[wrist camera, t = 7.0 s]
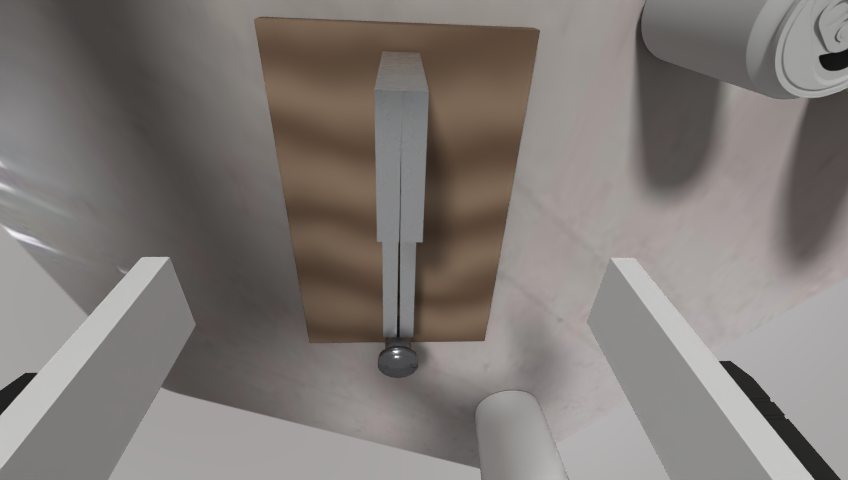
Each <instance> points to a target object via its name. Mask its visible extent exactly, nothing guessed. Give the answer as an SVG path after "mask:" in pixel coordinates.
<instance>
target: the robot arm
mask: <svg viewBox="0 0 848 480" xmlns="http://www.w3.org/2000/svg"><path fill="white" fill-rule="evenodd" d="M587 323H588V325H589V327H590V329H591V331H592V332H593V334H594V336H595V338H596V340H597V342H598V344H599V346H600V348H601V349H602V351H603V353H604V355H605V357H606V359H607V361H608V363H609V364H610V366H611V368H612V370H613V372H614V374H615V376H616V378H617V380H618V381H619V383H620V385H621V387H622V389H623V391H624V393H625V395H626V396H627V398H628V400H629V402H630V404H631V406H632V408H633V410H634V411H635V413H636V415H637V417H638V419H639V421H640V423H641V425H642V427H643V428H644V430H645V432H646V434H647V436H648V438H649V440H650V442H651V443H652V445H653V447H654V449H655V451H656V453H657V455H658V456H659V459H660V460H661V462H662V464H663V466H664V468H665V470H666V472H667V474H668V476H669V477H670V479H671V480H840V478H839V477H838V476H837V475H836V474H835V473H834V471H833V470H832V469H831V468H830V467H829V466H828V464H827V463H826V462H825V461H824V460H823V459H822V457H821V456H820V455H819V454H818V453H817V452H816V451H815V449H814V448H813V447H812V446H811V445H810V444H809V442H808V441H807V440H806V439H805V438H804V437H803V436H802V434H801V433H800V432H799V431H798V430H797V428H796V427H795V426H794V425H793V424H792V423H791V422H790V420H789V419H786V418H785V417H784V413H782V411H781V410H780V409H779V408H778V407H777V406H776V404H775V403H774V402H771V401H770V397H769V396H768V395H767V394H766V393H765V391H764V390H763V389H762V388H761V387H760V386H759V384H757V382H756V381H755V380H754V379H753V378H752V377H751V376H750V375H748V374H747V373H745V372H744V371H743V370H742V369H740V368H739V367H738V366H736V365H735V364H733V363H732V362H731V361H718V360H717V359H716V358H715V357H714V355H713V354H712V353H711V352H710V350H709V349H708V348H707V347H706V345H705V344H704V343H703V342H702V341H701V339H700V338H699V337H698V336H697V334H696V333H695V332H694V331H693V329H692V328H691V327H690V326H689V325H688V323H687V322H686V321H685V320H684V318H683V317H682V316H681V315H680V313H679V312H678V311H677V310H676V309H675V307H674V306H673V305H672V304H671V302H670V301H669V300H668V299H667V297H666V296H665V295H664V294H663V293H662V291H661V290H660V289H659V288H658V286H657V285H656V284H655V283H654V281H653V280H652V279H651V278H650V277H649V275H648V274H647V273H646V272H645V270H644V269H643V268H642V267H641V265H640V264H639V263H638V262H637V261H636V259H635V258H610V261H609V264H608V266H607V269H606V272H605V274H604V277H603V280H602V283H601V285H600V288H599V291H598V293H597V296H596V299H595V301H594V304H593V307H592V309H591V312H590V315H589V318H588V320H587ZM195 326H196V324H195V322H194V319H193V316H192V314H191V311H190V309H189V306H188V303H187V301H186V298H185V296H184V293H183V291H182V288H181V285H180V283H179V280H178V278H177V275H176V273H175V270H174V267H173V265H172V262H171V260H170V257H141V259H140V260H139V261H138V262H137V263H136V264H135V265H134V266H133V268H132V269H131V270H130V271H129V272H128V273H127V274H126V275H125V276H124V278H123V279H122V280H121V281H120V282H119V283H118V284H117V285H116V287H115V288H114V289H113V290H112V291H111V292H110V293H109V294H108V296H107V297H106V298H105V299H104V300H103V301H102V302H101V303H100V304H99V306H98V307H97V308H96V309H95V310H94V311H93V312H92V313H91V315H90V316H89V317H88V318H87V319H86V320H85V321H84V322H83V324H82V325H81V326H80V327H79V328H78V329H77V330H76V332H74V334H73V335H72V336H71V337H70V338H69V339H68V340H67V341H66V343H65V344H64V345H63V346H62V347H61V348H60V349H59V350H58V352H57V353H56V354H55V355H54V356H53V357H52V358H51V359H50V360H49V362H48V363H47V364H46V365H45V366H44V367H43V368H42V369H41V371H40V372H39V373H25V374H23V375H22V376H20V377H19V378H18V379H16V380H15V381H13V382H12V383H11V384H9V385H8V386H6V387H5V388H3V389H2V390H1V391H0V480H108V479H109V477H110V475H111V473H112V471H113V470H114V468H115V466H116V465H117V463H118V461H119V459H120V458H121V456H122V454H123V452H124V451H125V449H126V447H127V445H128V443H129V442H130V440H131V438H132V437H133V435H134V433H135V431H136V429H137V428H138V426H139V424H140V422H141V421H142V419H143V417H144V415H145V414H146V412H147V410H148V408H149V407H150V405H151V403H152V401H153V400H154V398H155V396H156V394H157V392H158V390H159V389H160V387H161V386H162V384H163V382H164V380H165V379H166V377H167V375H168V373H169V372H170V370H171V368H172V366H173V365H174V363H175V361H176V359H177V358H178V356H179V354H180V352H181V351H182V349H183V347H184V345H185V344H186V342H187V340H188V338H189V337H190V335H191V333H192V331H193V330H194V328H195Z"/></svg>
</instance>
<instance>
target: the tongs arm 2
mask: <svg viewBox="0 0 848 480" xmlns="http://www.w3.org/2000/svg"><path fill="white" fill-rule="evenodd" d="M401 75H402V99H401V167H400V337H413V327H414V295H415V263H416V242H423V220H424V197H425V173H426V149H427V125H428V102H429V90H428V86H427V81H426V77H425V73H424V69H423V65H422V60H421V56H420V53H415V52H401Z"/></svg>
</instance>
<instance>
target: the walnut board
mask: <svg viewBox="0 0 848 480" xmlns="http://www.w3.org/2000/svg"><path fill="white" fill-rule="evenodd" d="M254 22H255V28H256V34H257V40H258V46H259V52H260V57H261V63H262V69H263V75H264V81H265V87H266V92H267V98H268V104H269V110H270V116H271V122H272V127H273V133H274V139H275V145H276V151H277V157H278V162H279V168H280V174H281V180H282V186H283V192H284V197H285V203H286V209H287V215H288V221H289V226H290V232H291V238H292V244H293V250H294V256H295V261H296V267H297V273H298V279H299V285H300V291H301V296H302V302H303V308H304V314H305V320H306V326H307V331H308V337H309V343H353V342H386V337H383V255H382V242H377V209H376V155H375V101H374V89H375V84H376V79H377V75H378V70H379V65H380V61H381V56H382V51H389V52H415V53H420V56H421V60H422V65H423V69H424V73H425V77H426V81H427V86H428V90H429V102H428V125H427V149H426V173H425V197H424V220H423V242H416V263H415V295H414V327H413V337H411V342H450V341H484V340H485V335H486V329H487V324H488V318H489V313H490V307H491V301H492V296H493V290H494V285H495V279H496V273H497V268H498V262H499V257H500V251H501V245H502V240H503V234H504V229H505V223H506V218H507V212H508V206H509V201H510V195H511V190H512V184H513V178H514V173H515V167H516V162H517V156H518V151H519V145H520V139H521V134H522V128H523V123H524V117H525V111H526V106H527V100H528V95H529V89H530V83H531V78H532V72H533V67H534V61H535V56H536V50H537V44H538V39H539V33H540V30H537V29H535V28H526V27H501V26H476V25H451V24H426V23H401V22H376V21H352V20H327V19H302V18H277V17H259V18H256V19H254ZM397 316H400V222H399V242H398V292H397Z"/></svg>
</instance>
